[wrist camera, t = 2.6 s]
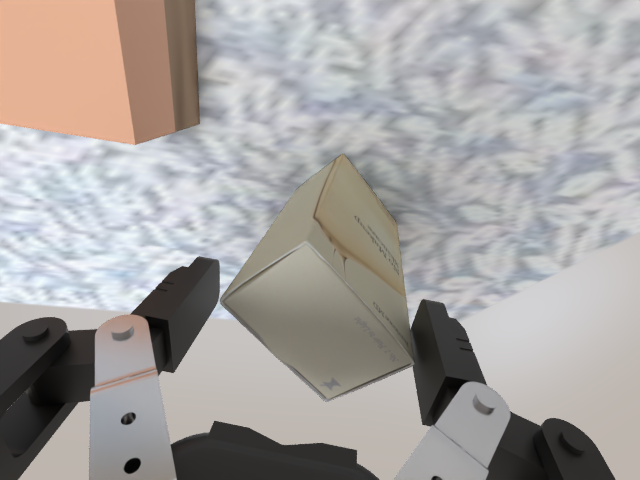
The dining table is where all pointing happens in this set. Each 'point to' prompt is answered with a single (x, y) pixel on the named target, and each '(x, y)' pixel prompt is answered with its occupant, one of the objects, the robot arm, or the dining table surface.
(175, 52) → the walnut slab
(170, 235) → the dining table surface
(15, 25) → the terracotta slab
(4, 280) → the dining table surface
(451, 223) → the dining table surface
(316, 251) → the skincare box
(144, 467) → the robot arm
